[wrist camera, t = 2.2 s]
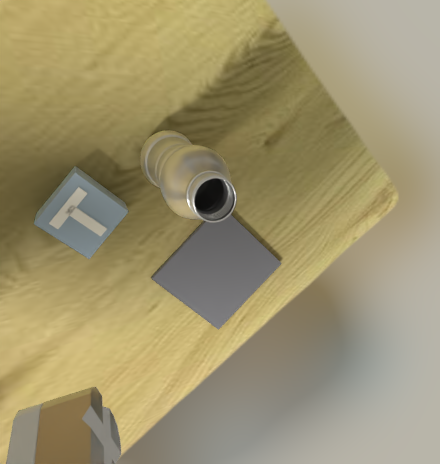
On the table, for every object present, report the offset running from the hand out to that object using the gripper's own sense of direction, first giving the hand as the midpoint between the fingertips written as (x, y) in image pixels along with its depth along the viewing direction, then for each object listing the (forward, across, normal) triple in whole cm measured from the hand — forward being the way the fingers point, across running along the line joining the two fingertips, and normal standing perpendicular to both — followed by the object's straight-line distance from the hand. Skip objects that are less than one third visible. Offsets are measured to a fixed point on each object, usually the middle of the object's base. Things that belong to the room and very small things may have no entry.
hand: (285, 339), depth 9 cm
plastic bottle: (+42, 0, -13) cm, 43 cm away
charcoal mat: (+38, +3, -29) cm, 48 cm away
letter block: (+40, -11, -15) cm, 44 cm away
